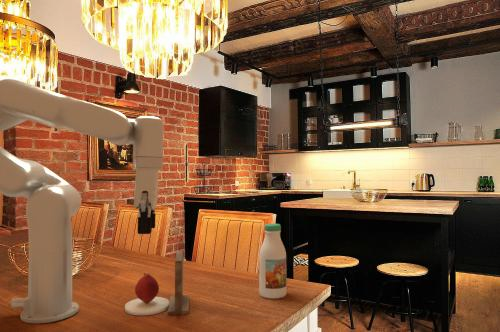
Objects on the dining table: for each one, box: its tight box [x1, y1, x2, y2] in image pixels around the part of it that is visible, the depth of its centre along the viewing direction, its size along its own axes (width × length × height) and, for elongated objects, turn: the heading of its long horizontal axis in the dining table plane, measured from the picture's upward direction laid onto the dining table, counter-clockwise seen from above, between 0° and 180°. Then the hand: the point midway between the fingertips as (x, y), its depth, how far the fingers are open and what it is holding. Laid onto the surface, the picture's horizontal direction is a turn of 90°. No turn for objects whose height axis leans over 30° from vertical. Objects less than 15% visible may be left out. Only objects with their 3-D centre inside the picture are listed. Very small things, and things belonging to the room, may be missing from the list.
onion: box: [134, 271, 160, 304], centre depth 96 cm, size 6×6×8 cm
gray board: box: [167, 250, 190, 316], centre depth 97 cm, size 5×12×13 cm, turn 9°
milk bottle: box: [258, 223, 287, 300], centre depth 106 cm, size 8×8×20 cm
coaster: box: [124, 296, 170, 317], centre depth 96 cm, size 11×11×1 cm
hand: (146, 230), depth 96 cm, fingers open, 9 cm apart
